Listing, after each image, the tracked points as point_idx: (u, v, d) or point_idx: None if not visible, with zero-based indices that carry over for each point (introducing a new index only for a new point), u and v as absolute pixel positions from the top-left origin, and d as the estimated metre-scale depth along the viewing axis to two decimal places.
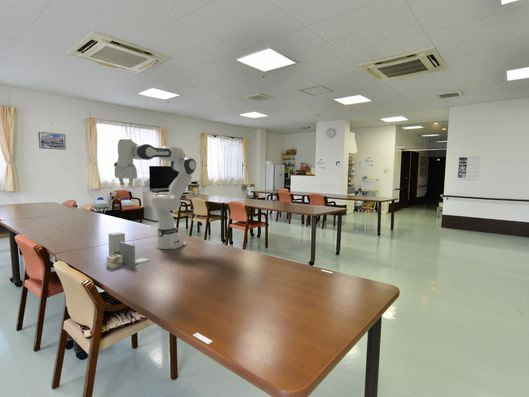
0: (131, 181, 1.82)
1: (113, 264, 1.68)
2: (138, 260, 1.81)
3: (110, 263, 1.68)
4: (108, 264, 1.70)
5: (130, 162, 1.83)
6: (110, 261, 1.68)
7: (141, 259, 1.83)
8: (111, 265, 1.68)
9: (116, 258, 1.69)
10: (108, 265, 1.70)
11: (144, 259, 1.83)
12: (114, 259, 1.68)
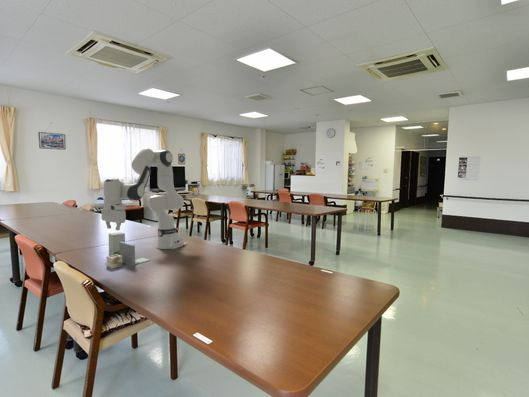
0: None
1: (113, 264, 1.68)
2: (138, 260, 1.81)
3: (110, 263, 1.68)
4: (108, 264, 1.70)
5: None
6: (110, 261, 1.68)
7: (141, 259, 1.83)
8: (111, 265, 1.68)
9: (116, 258, 1.69)
10: (108, 265, 1.70)
11: (144, 259, 1.83)
12: (114, 259, 1.68)
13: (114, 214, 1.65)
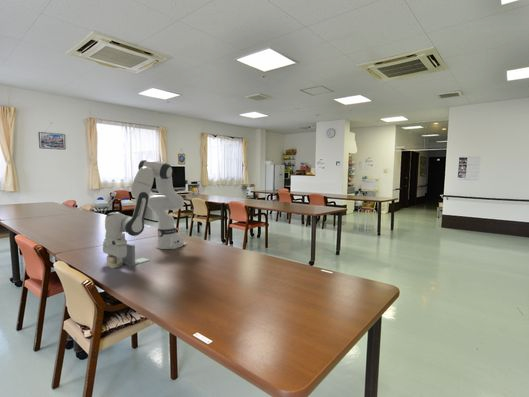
0: None
1: (113, 264, 1.68)
2: (138, 260, 1.81)
3: (110, 263, 1.68)
4: (108, 264, 1.70)
5: None
6: (110, 261, 1.68)
7: (141, 259, 1.83)
8: (111, 265, 1.68)
9: (116, 258, 1.69)
10: (108, 265, 1.70)
11: (144, 259, 1.83)
12: (114, 259, 1.68)
13: (115, 248, 1.67)
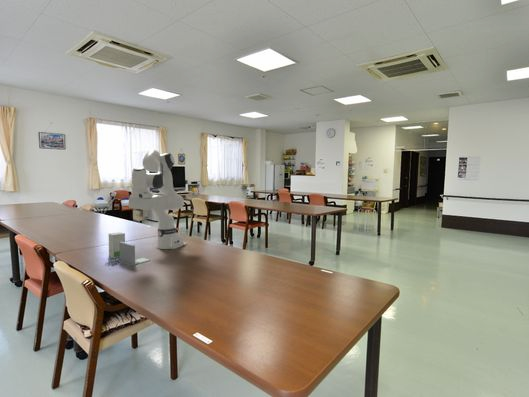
0: None
1: (139, 217, 1.76)
2: (138, 260, 1.81)
3: (137, 216, 1.76)
4: (134, 217, 1.77)
5: None
6: (136, 214, 1.76)
7: (141, 259, 1.83)
8: (137, 218, 1.76)
9: (142, 211, 1.77)
10: (134, 218, 1.78)
11: (144, 259, 1.83)
12: (140, 212, 1.76)
13: (142, 202, 1.74)
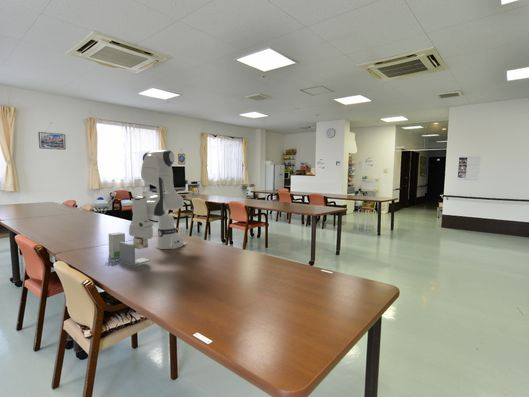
0: None
1: (140, 245, 1.77)
2: (138, 260, 1.81)
3: (137, 244, 1.77)
4: (135, 245, 1.79)
5: None
6: (137, 242, 1.77)
7: (141, 259, 1.83)
8: (138, 246, 1.77)
9: (142, 239, 1.78)
10: (135, 246, 1.79)
11: (144, 259, 1.83)
12: (141, 240, 1.77)
13: (142, 230, 1.76)
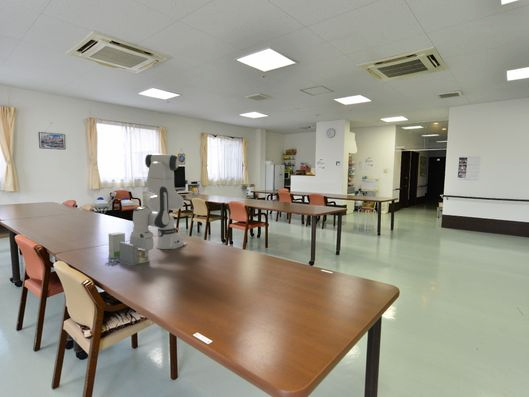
0: None
1: (140, 258, 1.78)
2: None
3: (138, 257, 1.78)
4: (135, 258, 1.80)
5: None
6: (138, 255, 1.78)
7: None
8: (139, 259, 1.78)
9: (143, 252, 1.79)
10: (135, 259, 1.80)
11: None
12: (141, 253, 1.78)
13: (143, 241, 1.77)
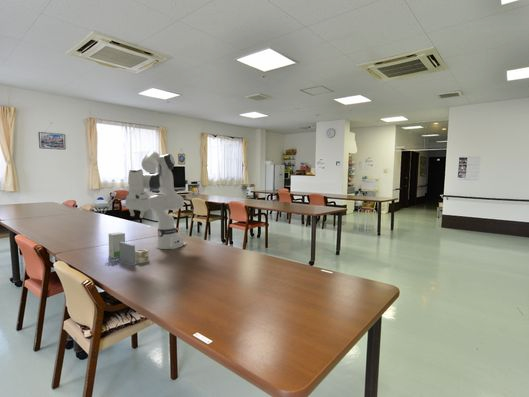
0: None
1: (140, 258, 1.78)
2: None
3: (138, 257, 1.78)
4: (135, 258, 1.80)
5: None
6: (138, 255, 1.78)
7: None
8: (139, 259, 1.78)
9: (143, 252, 1.79)
10: (135, 259, 1.80)
11: None
12: (141, 253, 1.78)
13: (138, 203, 1.77)
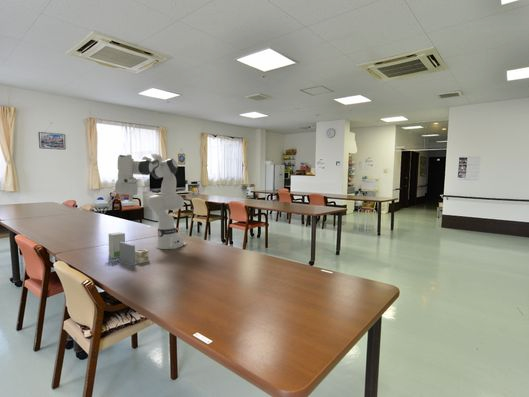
0: None
1: (140, 258, 1.78)
2: None
3: (138, 257, 1.78)
4: (135, 258, 1.80)
5: None
6: (138, 255, 1.78)
7: None
8: (139, 259, 1.78)
9: (143, 252, 1.79)
10: (135, 259, 1.80)
11: None
12: (141, 253, 1.78)
13: (127, 187, 1.81)
